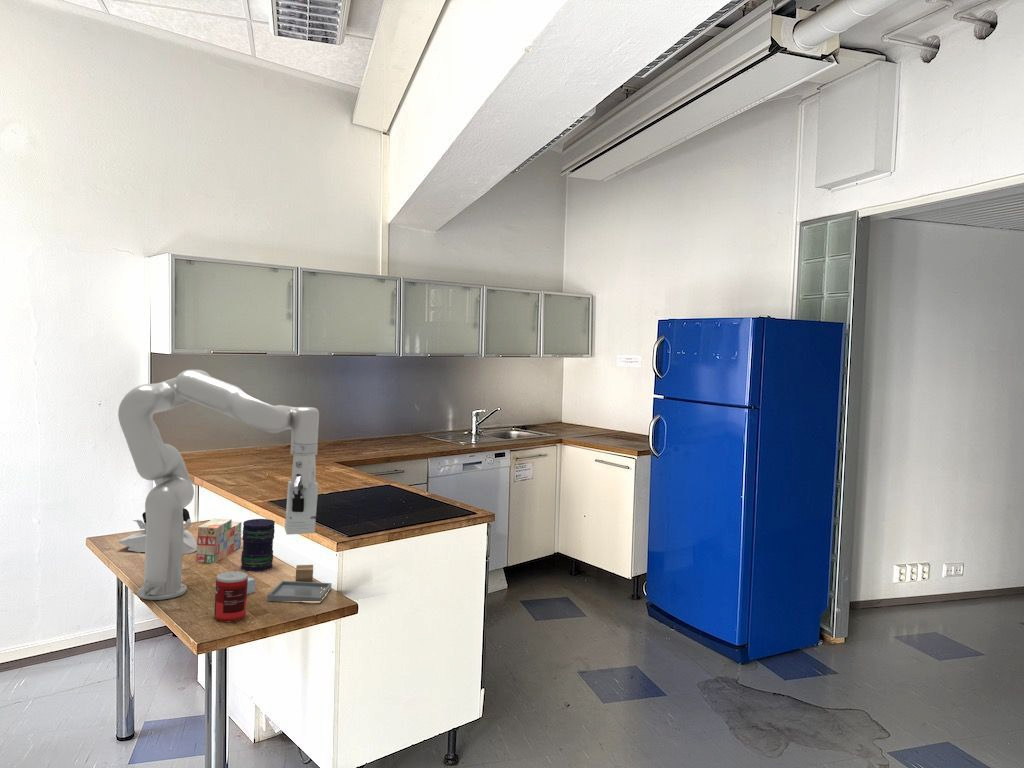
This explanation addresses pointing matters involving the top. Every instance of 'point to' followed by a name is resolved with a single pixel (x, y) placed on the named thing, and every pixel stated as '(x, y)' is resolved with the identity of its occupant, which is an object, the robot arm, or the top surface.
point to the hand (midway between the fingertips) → (301, 508)
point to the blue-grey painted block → (250, 585)
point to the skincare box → (305, 519)
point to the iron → (139, 540)
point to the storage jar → (257, 544)
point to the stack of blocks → (217, 539)
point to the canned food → (230, 596)
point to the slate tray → (298, 591)
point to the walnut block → (304, 573)
